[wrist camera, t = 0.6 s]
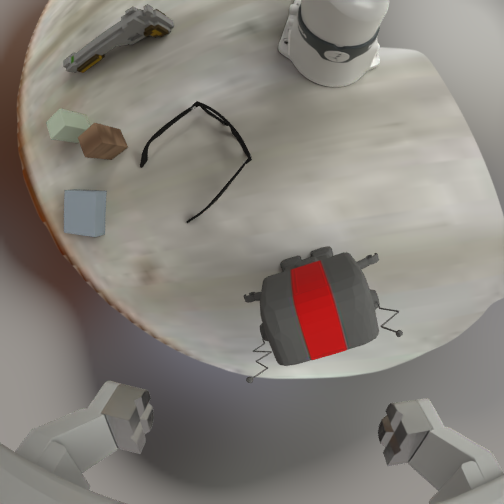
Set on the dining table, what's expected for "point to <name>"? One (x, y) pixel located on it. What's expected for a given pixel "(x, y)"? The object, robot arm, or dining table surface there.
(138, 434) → the robot arm
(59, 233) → the dining table surface
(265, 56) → the dining table surface
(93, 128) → the walnut block
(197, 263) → the dining table surface
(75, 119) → the sage block
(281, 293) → the toy robot
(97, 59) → the toy
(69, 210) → the slate pedestal
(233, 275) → the dining table surface
